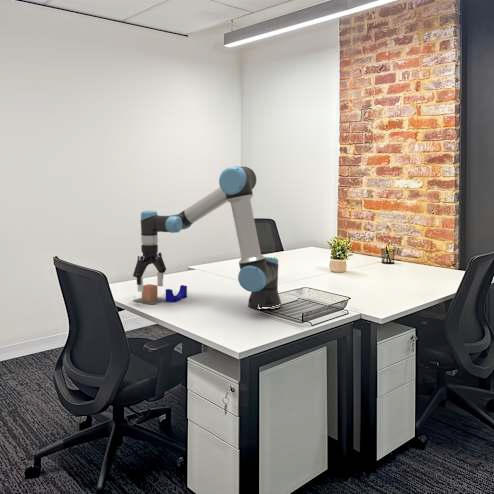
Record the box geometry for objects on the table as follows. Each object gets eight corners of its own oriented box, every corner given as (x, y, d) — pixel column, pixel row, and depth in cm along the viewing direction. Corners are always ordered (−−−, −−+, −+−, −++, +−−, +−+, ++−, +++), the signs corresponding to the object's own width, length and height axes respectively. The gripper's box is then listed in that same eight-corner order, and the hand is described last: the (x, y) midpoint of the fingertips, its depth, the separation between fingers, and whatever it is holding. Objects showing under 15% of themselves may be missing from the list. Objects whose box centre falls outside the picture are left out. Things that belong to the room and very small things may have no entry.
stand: (166, 300, 249) (166, 288, 248) (152, 305, 241) (152, 292, 240) (147, 297, 255) (147, 285, 255) (133, 301, 247) (132, 288, 246)
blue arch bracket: (172, 303, 246) (172, 290, 245) (165, 301, 248) (165, 289, 247) (189, 298, 256) (189, 286, 255) (182, 297, 258) (182, 285, 257)
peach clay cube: (157, 299, 249) (157, 285, 248) (150, 301, 245) (149, 287, 244) (149, 297, 252) (149, 284, 251) (141, 300, 247) (141, 285, 246)
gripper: (161, 240, 257) (162, 283, 260) (124, 246, 236) (125, 292, 239) (173, 241, 253) (173, 284, 256) (136, 247, 232) (137, 294, 235)
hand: (150, 288), depth 247 cm, fingers open, 13 cm apart
